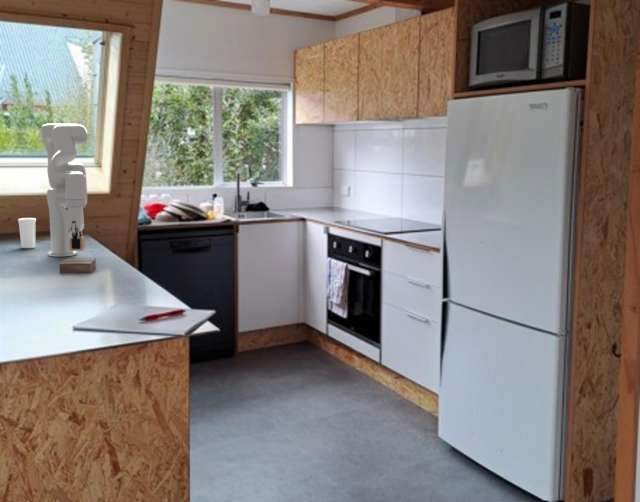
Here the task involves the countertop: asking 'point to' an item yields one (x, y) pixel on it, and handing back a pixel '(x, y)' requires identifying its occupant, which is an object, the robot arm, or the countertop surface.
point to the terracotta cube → (82, 244)
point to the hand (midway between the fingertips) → (77, 247)
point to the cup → (27, 232)
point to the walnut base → (78, 265)
